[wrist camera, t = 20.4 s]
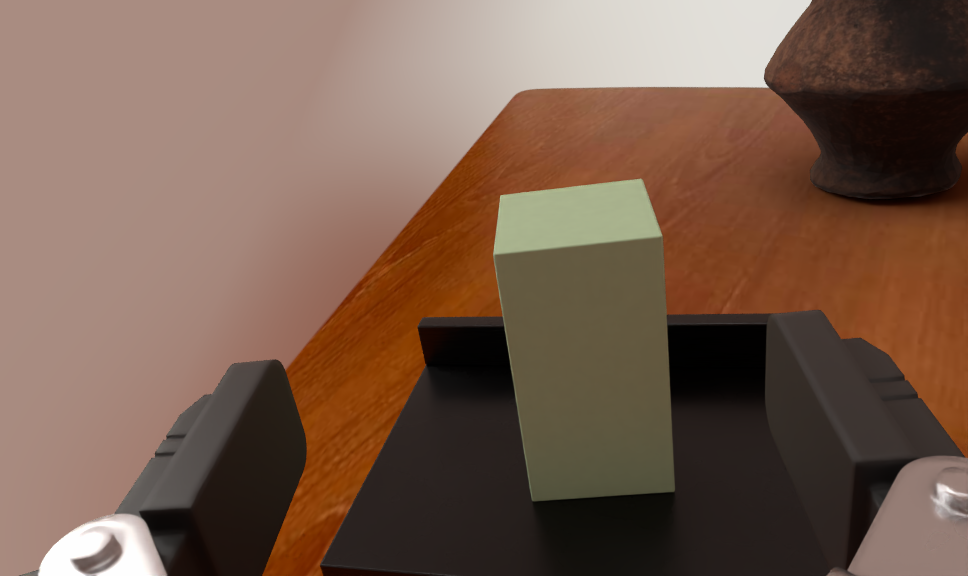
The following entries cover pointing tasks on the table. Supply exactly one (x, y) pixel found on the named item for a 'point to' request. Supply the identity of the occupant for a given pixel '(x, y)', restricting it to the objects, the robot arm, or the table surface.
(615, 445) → the block
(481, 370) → the bench
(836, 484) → the robot arm
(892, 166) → the jug
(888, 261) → the table surface
